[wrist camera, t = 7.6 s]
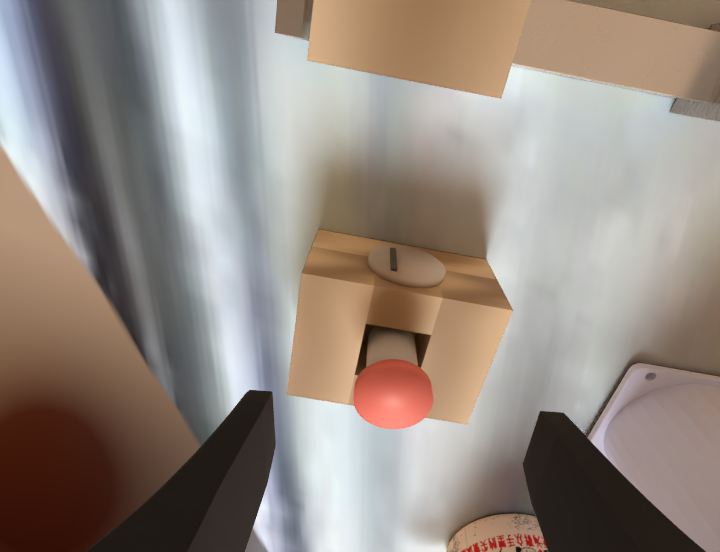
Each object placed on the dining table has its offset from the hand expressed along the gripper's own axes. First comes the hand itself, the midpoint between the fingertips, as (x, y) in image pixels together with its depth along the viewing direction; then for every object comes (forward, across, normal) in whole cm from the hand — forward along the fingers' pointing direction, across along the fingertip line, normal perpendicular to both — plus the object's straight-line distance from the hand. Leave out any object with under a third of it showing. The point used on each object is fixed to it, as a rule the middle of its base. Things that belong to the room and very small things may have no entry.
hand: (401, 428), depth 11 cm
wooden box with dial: (+10, 0, +2) cm, 10 cm away
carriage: (+10, 0, -10) cm, 14 cm away
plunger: (+6, 0, +2) cm, 7 cm away
